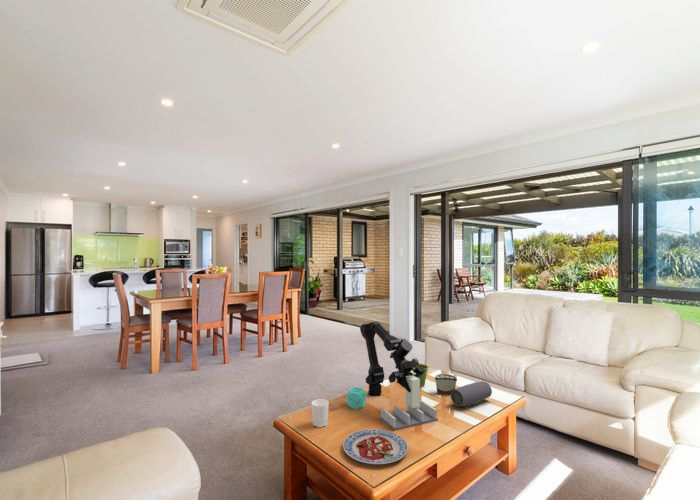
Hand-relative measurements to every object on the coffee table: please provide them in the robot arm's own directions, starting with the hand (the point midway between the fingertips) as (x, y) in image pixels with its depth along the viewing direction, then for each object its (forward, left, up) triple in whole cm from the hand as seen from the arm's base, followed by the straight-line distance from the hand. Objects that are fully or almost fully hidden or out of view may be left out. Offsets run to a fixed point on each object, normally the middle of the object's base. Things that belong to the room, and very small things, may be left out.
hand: (414, 391), depth 169 cm
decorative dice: (-27, +17, -14) cm, 34 cm away
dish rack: (-3, 0, -13) cm, 14 cm away
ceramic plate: (-22, -25, -14) cm, 36 cm away
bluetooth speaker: (+34, +17, -14) cm, 41 cm away
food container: (+24, +32, -14) cm, 42 cm away
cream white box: (-1, +1, -7) cm, 7 cm away
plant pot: (+12, +45, -14) cm, 48 cm away
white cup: (-45, -3, -14) cm, 47 cm away
